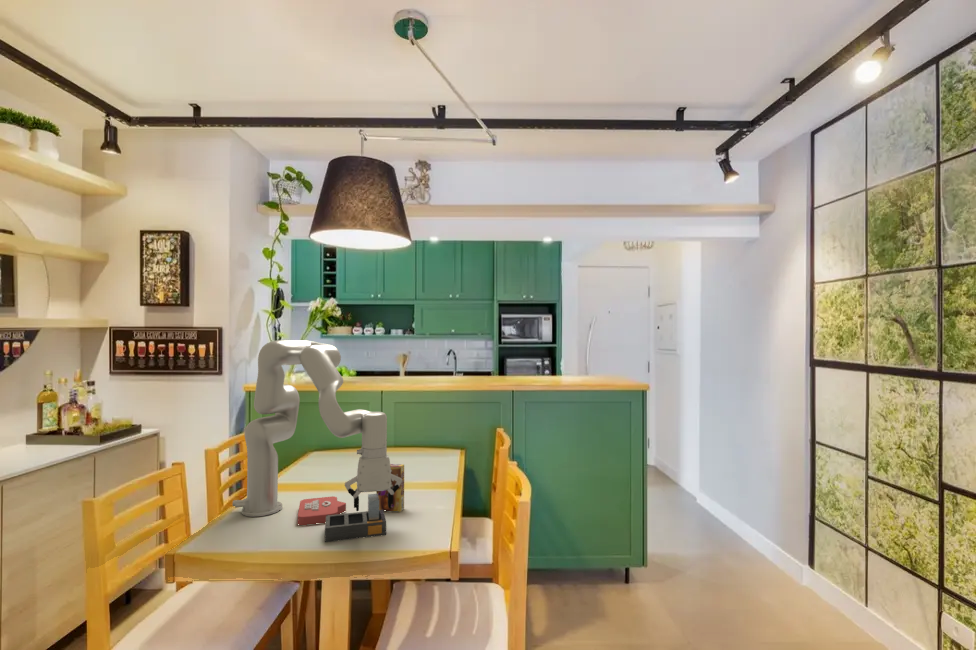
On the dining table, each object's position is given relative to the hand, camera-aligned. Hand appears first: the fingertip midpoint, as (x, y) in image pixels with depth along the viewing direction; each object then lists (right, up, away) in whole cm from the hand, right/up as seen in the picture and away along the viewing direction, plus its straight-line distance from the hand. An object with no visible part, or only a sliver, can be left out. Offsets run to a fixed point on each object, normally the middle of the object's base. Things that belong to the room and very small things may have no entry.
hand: (373, 508), depth 148 cm
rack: (-5, -7, -2) cm, 8 cm away
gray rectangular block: (0, -7, 0) cm, 7 cm away
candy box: (+2, -7, +17) cm, 19 cm away
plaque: (-20, -8, +13) cm, 25 cm away
